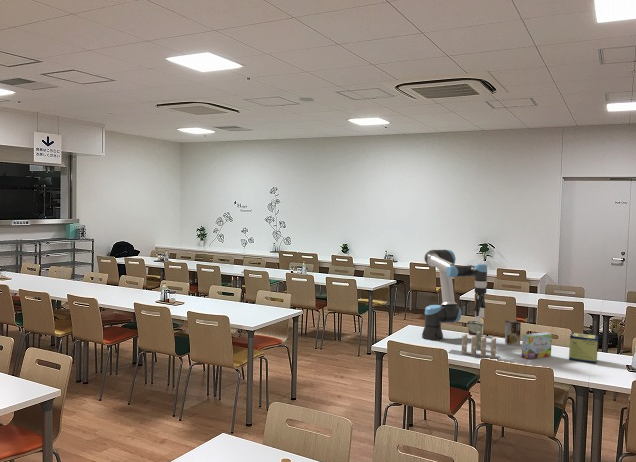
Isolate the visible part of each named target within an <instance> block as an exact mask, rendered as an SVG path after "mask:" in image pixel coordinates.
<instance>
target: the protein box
mask: <svg viewBox="0 0 636 462" xmlns="http://www.w3.org/2000/svg"><path fill="white" fill-rule="evenodd" d="M598 342H599V336H598V335H595V334H586V333H577V332H571V333H570V335H569V352H568V360H569V361H575V362H581V363H589V364H595V365H596V364H597V363H598V362H597V361H598V360H597V359H598V348H599V347H598V346H599V343H598Z"/></svg>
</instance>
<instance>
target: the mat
mask: <svg viewBox="0 0 636 462" xmlns="http://www.w3.org/2000/svg"><path fill="white" fill-rule="evenodd" d="M448 353H449V354H451V355H456V356H457V355H458V356H463V357H468V358H477V359H482V358H490V359H491V354H486V356H485V357H481V353H478V352H476V355H475V356H471V351H467V353H466V354H465V355H464V354H462V350H456V349H450V350H449V351H448V352H447V354H448ZM500 358H501V356H499V355H496V357H495V358H494V359H497V361H499V360H500Z"/></svg>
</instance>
